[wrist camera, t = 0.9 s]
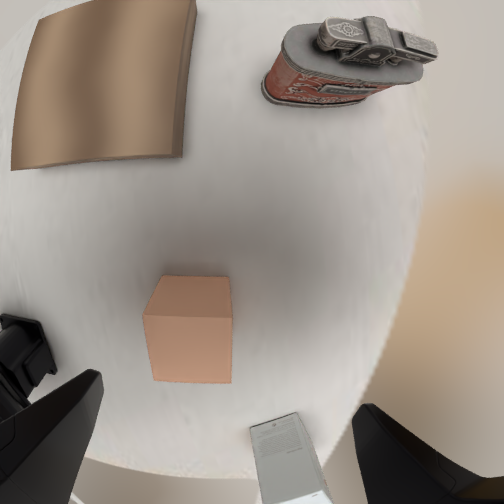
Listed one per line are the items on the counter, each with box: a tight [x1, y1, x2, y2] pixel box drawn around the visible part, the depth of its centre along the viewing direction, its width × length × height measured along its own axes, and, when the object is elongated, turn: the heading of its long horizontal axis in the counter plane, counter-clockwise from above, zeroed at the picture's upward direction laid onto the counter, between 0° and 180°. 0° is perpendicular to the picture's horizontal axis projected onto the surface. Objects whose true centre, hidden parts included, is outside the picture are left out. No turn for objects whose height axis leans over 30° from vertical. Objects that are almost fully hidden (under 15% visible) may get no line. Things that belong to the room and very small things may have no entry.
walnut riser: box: [11, 0, 197, 171], centre depth 13 cm, size 12×12×4 cm
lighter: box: [261, 16, 438, 108], centre depth 12 cm, size 8×3×10 cm, turn 98°
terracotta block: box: [142, 275, 233, 383], centre depth 18 cm, size 5×5×6 cm
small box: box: [250, 413, 334, 504], centre depth 22 cm, size 8×6×10 cm
